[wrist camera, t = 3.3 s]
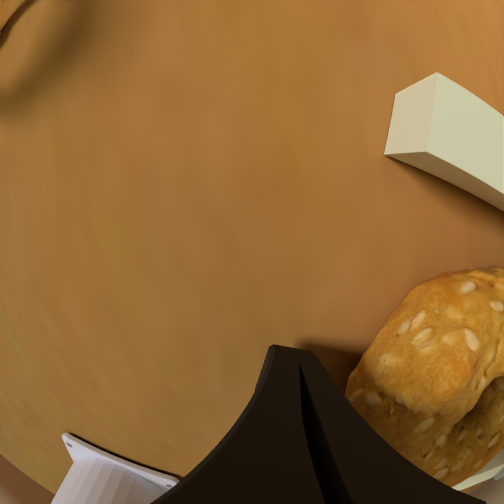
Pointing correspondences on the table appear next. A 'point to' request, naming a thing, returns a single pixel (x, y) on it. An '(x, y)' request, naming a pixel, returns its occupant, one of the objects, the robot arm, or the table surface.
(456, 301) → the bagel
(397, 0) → the table surface
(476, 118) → the guide
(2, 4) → the ring
